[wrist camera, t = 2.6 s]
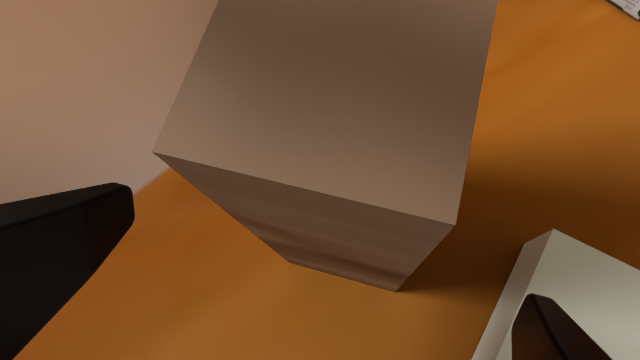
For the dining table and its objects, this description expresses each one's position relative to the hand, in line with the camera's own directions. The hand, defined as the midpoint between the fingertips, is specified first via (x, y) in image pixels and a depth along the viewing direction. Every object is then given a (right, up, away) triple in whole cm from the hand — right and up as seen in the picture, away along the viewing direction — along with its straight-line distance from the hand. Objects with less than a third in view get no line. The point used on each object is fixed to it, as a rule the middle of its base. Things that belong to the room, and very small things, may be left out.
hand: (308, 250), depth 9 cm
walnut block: (+2, -1, +10) cm, 11 cm away
